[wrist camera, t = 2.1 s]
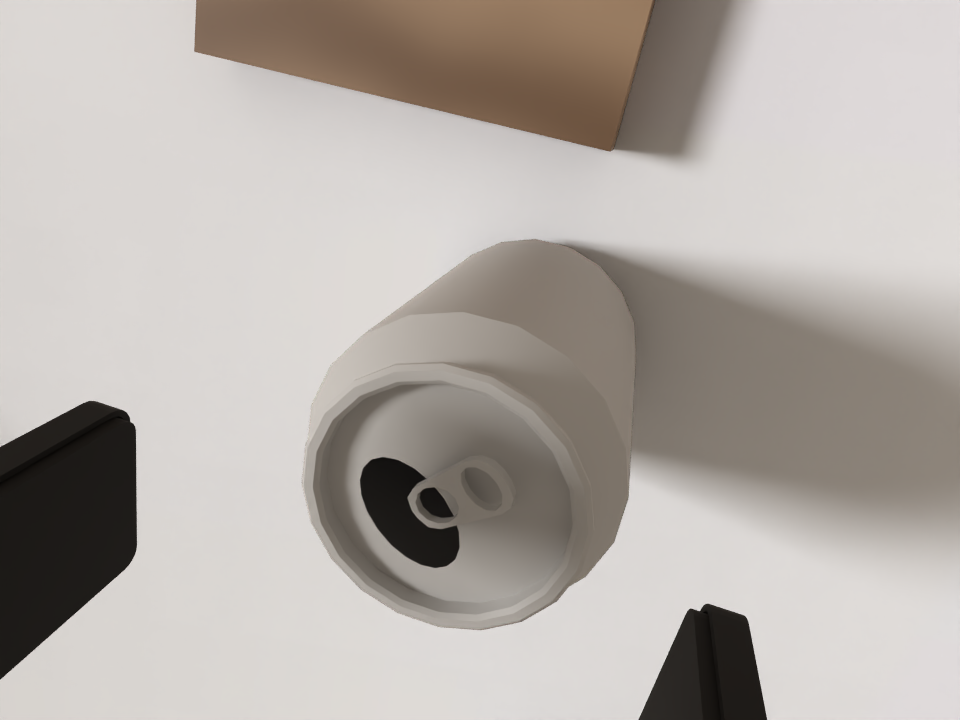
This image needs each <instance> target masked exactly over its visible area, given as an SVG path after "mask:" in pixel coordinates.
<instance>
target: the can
mask: <svg viewBox="0 0 960 720" xmlns="http://www.w3.org/2000/svg"><path fill="white" fill-rule="evenodd" d="M635 365H636V346H635V325H634V321H633V318H632V316H631V313H630V311H629V308H628V306H627V303H626V301H625V299H624V296H623V294H622V291H621V290H620V289H619V288H618V287H617V286H616V284H615V283H614V282H613V281H612V280H611V279H610V277H609V276H608V275H607V274H606V273H605V272H604V270H603V269H602V268H601V267H600V266H599V265H598V264H596V263H595V262H593V261H591V260H590V259H588V258H586V257H585V256H583V255H581V254H580V253H578V252H576V251H575V250H573V249H571V248H570V247H567V246H562V245H558V244H554V243H550V242H545V241H541V240H537V239H531V240H519V241H507V242H500V243H498V244H496V245H493V246H491V247H489V248H487V249H484V250H482V251H480V252H477V253H475V254H473V255H471V256H470V257H468V258H467V259H465V260H464V261H463V262H461V263H460V264H459V265H457V266H456V267H455V268H453V269H452V270H450V271H449V272H448V273H446V274H445V275H444V276H442V277H441V278H440V279H438V280H437V281H435V282H434V283H433V284H431V285H430V286H429V287H427V288H426V289H425V290H423V291H422V292H420V293H419V294H418V295H416V296H415V297H414V298H412V299H411V300H410V301H408V302H407V303H406V304H404V305H403V306H401V307H400V308H399V309H397V310H396V311H395V312H393V313H392V314H391V315H389V316H388V317H386V318H385V319H384V320H382V321H381V322H380V323H378V324H377V325H376V326H374V327H373V328H371V329H370V330H369V331H367V332H366V333H365V334H363V335H362V336H361V337H360V338H359V339H358V340H357V341H356V342H355V343H354V344H353V345H352V346H351V347H350V348H348V349H347V350H346V351H345V352H344V353H343V354H342V355H341V356H340V357H339V358H338V359H337V360H336V361H335V362H334V363H332V364H331V365H330V367H329V369H328V372H327V374H326V376H325V378H324V380H323V382H322V384H321V386H320V388H319V390H318V392H317V394H316V396H315V398H314V400H313V403H312V405H311V413H310V423H309V433H308V440H307V442H306V444H305V454H304V464H303V474H302V487H303V491H304V495H305V500H306V504H307V508H308V513H309V517H310V521H311V524H312V525H313V527H314V529H315V531H316V533H317V534H318V536H319V538H320V540H321V541H322V543H323V545H324V547H325V549H326V550H327V552H328V554H329V556H330V558H331V559H332V560H333V561H334V562H335V563H336V564H337V565H338V566H339V567H340V568H341V569H342V570H343V572H344V573H345V574H346V575H347V576H348V577H349V578H350V579H351V580H352V581H353V582H354V583H355V584H356V585H357V586H358V587H359V588H360V589H361V590H362V591H364V592H365V593H367V594H369V595H370V596H372V597H373V598H375V599H376V600H378V601H380V602H381V603H383V604H384V605H386V606H387V607H389V608H391V609H392V610H394V611H395V612H397V613H399V614H402V615H405V616H408V617H411V618H414V619H417V620H420V621H423V622H426V623H429V624H432V625H435V626H438V627H446V628H460V629H473V630H484V629H489V628H494V627H499V626H503V625H508V624H513V623H518V622H522V621H524V620H526V619H527V618H529V617H531V616H532V615H534V614H536V613H538V612H539V611H541V610H543V609H545V608H546V607H548V606H550V605H551V604H553V603H555V602H557V600H558V599H559V598H560V597H561V595H562V594H563V593H564V592H565V591H566V589H567V588H568V587H569V586H571V585H572V584H574V583H576V582H578V581H579V580H581V579H583V578H584V577H586V576H587V574H588V573H589V572H590V571H591V570H592V568H593V567H594V566H595V565H596V563H597V562H598V561H599V560H600V559H601V557H602V556H603V555H604V554H605V553H606V551H607V550H608V549H609V548H610V546H611V545H612V544H613V543H614V541H615V538H616V535H617V532H618V529H619V525H620V522H621V519H622V516H623V513H624V510H625V507H626V504H627V501H628V497H629V478H630V459H631V440H632V422H633V403H634V384H635Z"/></svg>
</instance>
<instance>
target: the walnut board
mask: <svg viewBox="0 0 960 720" xmlns="http://www.w3.org/2000/svg"><path fill="white" fill-rule="evenodd" d="M654 3H655V0H196V24H195V49H194V52H198V53H202V54H207V55H211V56H215V57H219V58H223V59H227V60H231V61H236V62H240V63H244V64H248V65H252V66H256V67H261V68H265V69H269V70H273V71H277V72H281V73H286V74H290V75H294V76H298V77H302V78H306V79H311V80H315V81H319V82H323V83H327V84H331V85H335V86H340V87H344V88H348V89H352V90H356V91H360V92H365V93H369V94H373V95H377V96H381V97H385V98H390V99H394V100H398V101H402V102H406V103H410V104H415V105H419V106H423V107H427V108H431V109H435V110H439V111H444V112H448V113H452V114H456V115H460V116H464V117H469V118H473V119H477V120H481V121H485V122H489V123H494V124H498V125H502V126H506V127H510V128H514V129H519V130H523V131H527V132H531V133H535V134H539V135H544V136H548V137H552V138H556V139H560V140H564V141H568V142H573V143H577V144H581V145H585V146H589V147H593V148H598V149H602V150H606V151H612V150H613V149H614V146H615V143H616V139H617V135H618V132H619V128H620V125H621V121H622V118H623V114H624V110H625V107H626V103H627V100H628V96H629V93H630V89H631V85H632V82H633V78H634V75H635V71H636V68H637V64H638V61H639V57H640V53H641V50H642V46H643V43H644V39H645V36H646V32H647V28H648V25H649V21H650V18H651V14H652V11H653V7H654Z"/></svg>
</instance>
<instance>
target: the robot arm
mask: <svg viewBox="0 0 960 720" xmlns="http://www.w3.org/2000/svg"><path fill="white" fill-rule="evenodd" d="M136 548H137V511H136V430H135V426H134V424H133V423H131V422H130V417H129V415H128V414H127V413H126V412H125V411H123V410H120V409H117V408H114V407H111V406H108V405H105V404H102V403H99V402H96V401H88V402H86V403H83V404H81V405H79V406H77V407H75V408H73V409H72V410H70V411H68V412H66V413H64V414H62V415H60V416H58V417H56V418H54V419H53V420H51V421H49V422H47V423H45V424H43V425H41V426H39V427H37V428H35V429H34V430H32V431H30V432H28V433H26V434H24V435H22V436H20V437H18V438H16V439H15V440H13V441H11V442H9V443H7V444H5V445H3V446H1V447H0V679H1V678H3V677H4V676H5V675H6V674H7V673H8V672H9V671H10V670H12V669H13V668H14V667H15V666H16V665H17V664H18V663H20V662H21V661H22V660H23V659H24V658H25V657H26V656H27V655H29V654H30V653H31V652H32V651H33V650H34V649H35V648H36V647H38V646H39V645H40V644H41V643H42V642H43V641H44V640H46V639H47V638H48V637H49V636H50V635H51V634H52V633H53V632H55V631H56V630H57V629H58V628H59V627H60V626H61V625H62V624H64V623H65V622H66V621H67V620H68V619H69V618H70V617H72V616H73V615H74V614H75V613H76V612H77V611H78V610H79V609H81V608H82V607H83V606H84V605H85V604H86V603H87V602H88V601H90V600H91V599H92V598H93V597H94V596H95V595H96V594H98V593H99V592H100V591H101V590H102V589H103V588H104V587H105V586H107V585H108V584H109V583H110V582H111V581H112V580H113V579H114V578H116V577H117V576H118V575H119V574H120V573H121V572H122V571H124V570H125V569H126V568H127V566H128V565H129V564H130V563H131V561H132V559H133V557H134V555H135V552H136ZM639 720H767V717H766V711H765V706H764V701H763V696H762V691H761V685H760V680H759V675H758V670H757V665H756V659H755V654H754V649H753V644H752V638H751V633H750V628H749V623H748V620H747V618H746V617H745V616H744V615H741V614H738V613H735V612H732V611H729V610H726V609H723V608H720V607H717V606H714V605H710V604H705V605H704V606H703V607H702V609H701V611H697V610H694V609H689V610H688V611H687V613H686V615H685V617H684V620H683V622H682V624H681V626H680V628H679V631H678V633H677V635H676V637H675V640H674V642H673V644H672V646H671V649H670V651H669V653H668V655H667V658H666V660H665V662H664V664H663V666H662V669H661V671H660V673H659V675H658V678H657V680H656V682H655V684H654V687H653V689H652V691H651V693H650V695H649V698H648V700H647V702H646V704H645V707H644V709H643V711H642V713H641V716H640V718H639Z"/></svg>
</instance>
